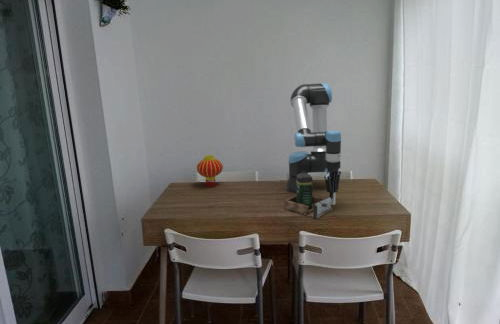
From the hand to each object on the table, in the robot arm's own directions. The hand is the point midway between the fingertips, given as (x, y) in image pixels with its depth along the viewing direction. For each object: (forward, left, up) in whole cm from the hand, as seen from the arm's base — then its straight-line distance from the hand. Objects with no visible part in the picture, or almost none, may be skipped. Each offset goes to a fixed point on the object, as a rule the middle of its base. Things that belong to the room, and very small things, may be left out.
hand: (332, 203), depth 192 cm
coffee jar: (-12, -8, -2) cm, 15 cm away
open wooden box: (-9, -9, -3) cm, 13 cm away
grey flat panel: (0, -9, -2) cm, 9 cm away
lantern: (-86, -12, -3) cm, 87 cm away
